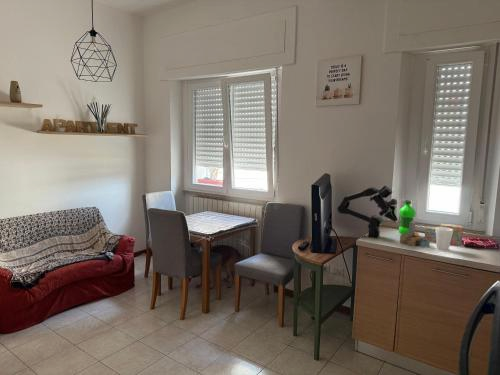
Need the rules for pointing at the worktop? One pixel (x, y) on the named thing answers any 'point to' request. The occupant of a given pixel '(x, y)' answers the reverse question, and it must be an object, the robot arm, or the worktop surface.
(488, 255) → the worktop surface
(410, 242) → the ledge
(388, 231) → the worktop surface
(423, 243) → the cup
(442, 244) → the foam cup
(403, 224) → the plastic bottle
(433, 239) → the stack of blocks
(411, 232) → the pusher
